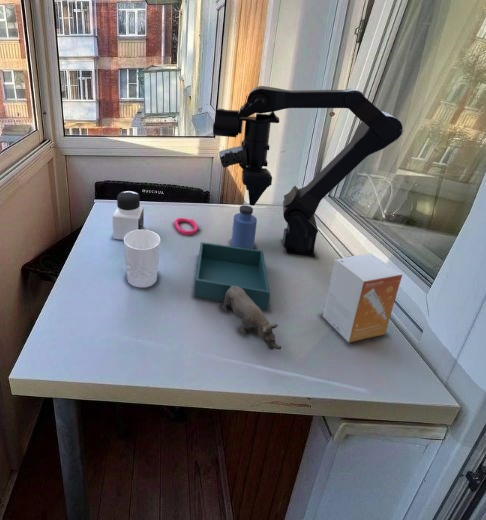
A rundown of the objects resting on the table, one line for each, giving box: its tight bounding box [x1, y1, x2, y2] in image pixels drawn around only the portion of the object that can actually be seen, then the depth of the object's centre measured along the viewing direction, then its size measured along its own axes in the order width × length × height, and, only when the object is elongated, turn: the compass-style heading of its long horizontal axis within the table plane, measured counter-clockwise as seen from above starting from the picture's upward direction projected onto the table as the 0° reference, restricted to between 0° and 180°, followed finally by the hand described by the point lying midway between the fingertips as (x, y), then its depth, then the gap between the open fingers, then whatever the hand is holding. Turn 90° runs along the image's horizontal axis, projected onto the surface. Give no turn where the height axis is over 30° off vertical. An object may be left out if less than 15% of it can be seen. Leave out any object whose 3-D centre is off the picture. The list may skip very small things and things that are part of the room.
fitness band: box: [174, 217, 199, 236], centre depth 94 cm, size 8×6×2 cm
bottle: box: [230, 204, 258, 249], centre depth 85 cm, size 6×6×11 cm
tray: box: [193, 241, 271, 311], centre depth 73 cm, size 14×14×4 cm
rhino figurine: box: [221, 286, 283, 351], centre depth 59 cm, size 4×14×6 cm, turn 22°
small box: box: [322, 253, 403, 344], centre depth 59 cm, size 8×6×13 cm
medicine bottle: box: [112, 190, 145, 241], centre depth 90 cm, size 7×7×12 cm
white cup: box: [123, 229, 162, 288], centre depth 73 cm, size 8×8×10 cm
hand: (250, 197), depth 86 cm, fingers open, 9 cm apart
